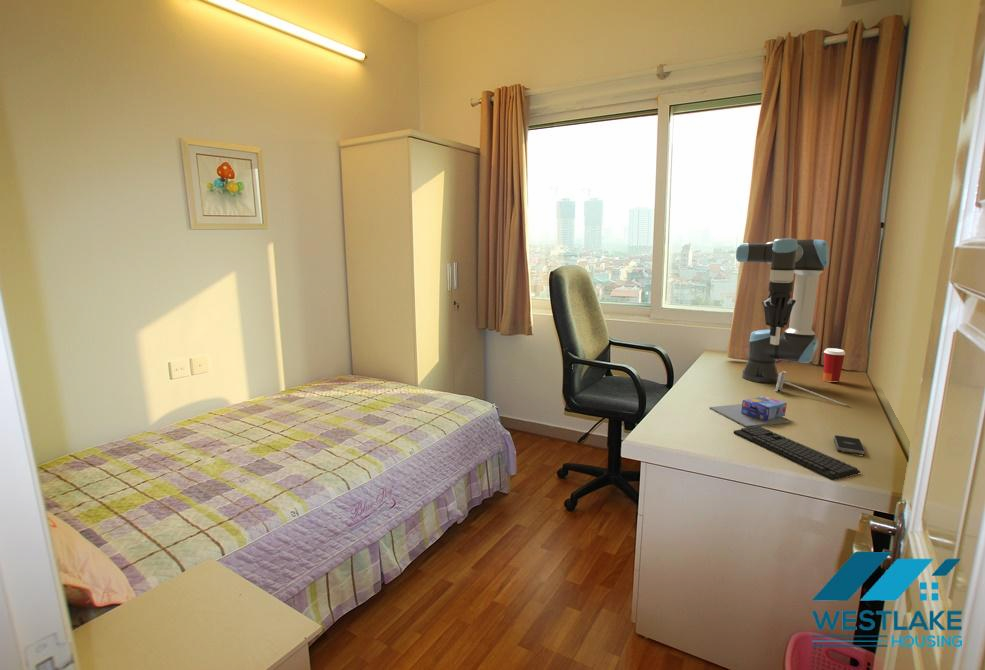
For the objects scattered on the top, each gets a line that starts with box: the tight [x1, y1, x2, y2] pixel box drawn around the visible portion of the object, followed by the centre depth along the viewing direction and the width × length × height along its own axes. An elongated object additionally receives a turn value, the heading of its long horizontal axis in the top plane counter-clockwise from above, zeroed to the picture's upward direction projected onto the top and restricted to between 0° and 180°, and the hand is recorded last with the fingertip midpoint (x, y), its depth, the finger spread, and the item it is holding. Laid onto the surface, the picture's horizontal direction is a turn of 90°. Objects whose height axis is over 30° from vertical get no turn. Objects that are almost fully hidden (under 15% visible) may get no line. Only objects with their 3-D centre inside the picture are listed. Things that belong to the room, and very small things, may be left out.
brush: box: [774, 371, 847, 406], centre depth 202 cm, size 4×28×9 cm, turn 36°
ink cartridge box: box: [741, 395, 788, 421], centre depth 183 cm, size 10×6×14 cm
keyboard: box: [733, 426, 861, 481], centre depth 154 cm, size 35×11×2 cm, turn 19°
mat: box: [709, 403, 790, 428], centre depth 185 cm, size 18×20×1 cm
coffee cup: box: [822, 347, 846, 382], centre depth 225 cm, size 8×8×15 cm
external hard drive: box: [833, 434, 866, 457], centre depth 157 cm, size 7×11×2 cm, turn 151°
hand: (774, 344), depth 184 cm, fingers closed
